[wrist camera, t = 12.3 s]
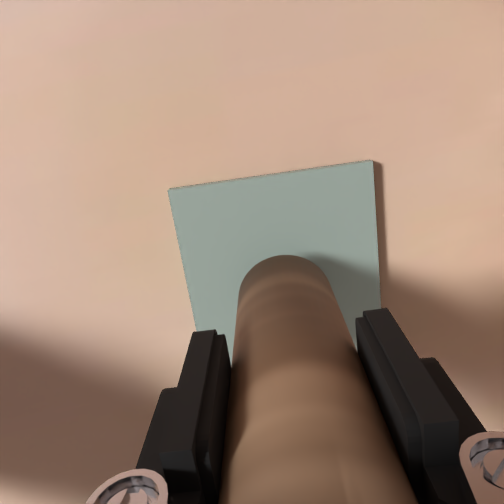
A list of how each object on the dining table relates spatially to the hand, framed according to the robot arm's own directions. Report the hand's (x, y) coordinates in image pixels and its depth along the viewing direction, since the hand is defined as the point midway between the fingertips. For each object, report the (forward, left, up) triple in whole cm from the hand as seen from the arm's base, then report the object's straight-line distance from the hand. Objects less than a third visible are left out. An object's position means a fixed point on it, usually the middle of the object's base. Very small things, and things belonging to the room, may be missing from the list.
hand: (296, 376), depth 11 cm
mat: (0, 0, -6) cm, 6 cm away
